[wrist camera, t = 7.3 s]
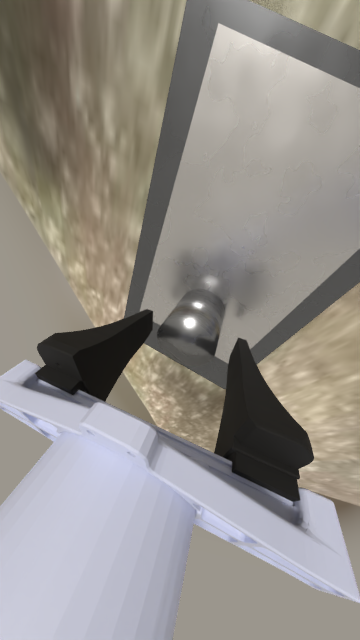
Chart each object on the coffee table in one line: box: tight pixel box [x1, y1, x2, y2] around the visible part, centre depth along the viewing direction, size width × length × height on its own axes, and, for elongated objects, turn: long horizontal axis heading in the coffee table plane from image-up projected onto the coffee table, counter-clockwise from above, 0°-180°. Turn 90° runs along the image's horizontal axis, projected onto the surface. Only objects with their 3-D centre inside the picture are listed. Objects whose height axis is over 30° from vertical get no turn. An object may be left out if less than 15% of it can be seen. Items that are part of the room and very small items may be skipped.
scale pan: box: [140, 23, 360, 363], centre depth 13 cm, size 12×18×1 cm, turn 158°
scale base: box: [124, 0, 360, 389], centre depth 15 cm, size 16×24×2 cm, turn 158°
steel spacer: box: [157, 289, 225, 367], centre depth 14 cm, size 4×4×5 cm
